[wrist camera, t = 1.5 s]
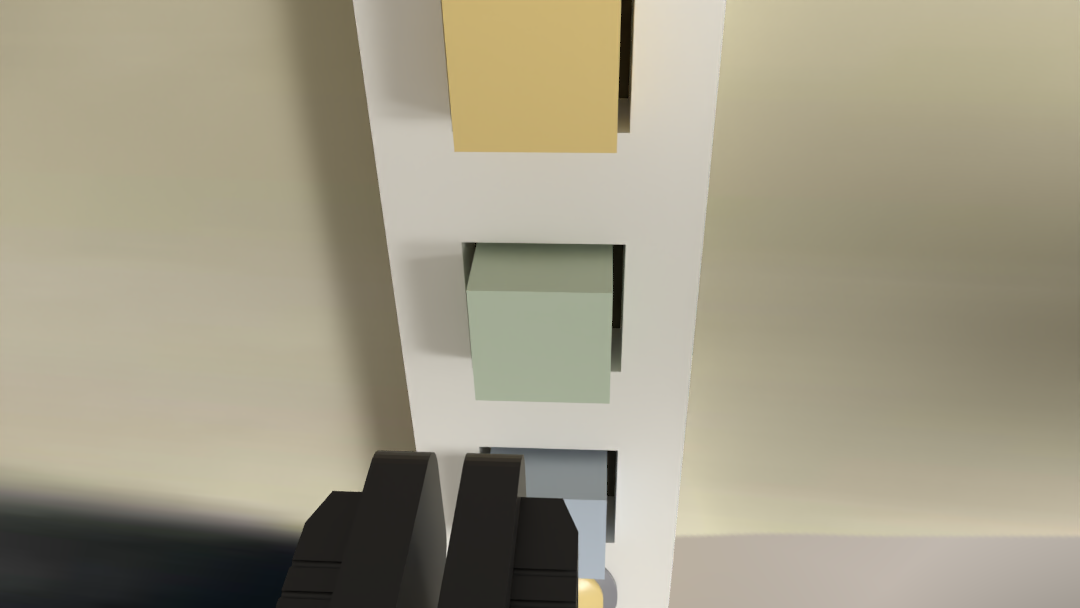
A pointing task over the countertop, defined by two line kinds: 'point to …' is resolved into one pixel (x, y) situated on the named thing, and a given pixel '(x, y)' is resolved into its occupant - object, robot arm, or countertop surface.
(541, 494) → the slate button
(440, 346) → the button panel
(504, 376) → the sage button
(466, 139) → the ochre button
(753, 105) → the countertop surface
